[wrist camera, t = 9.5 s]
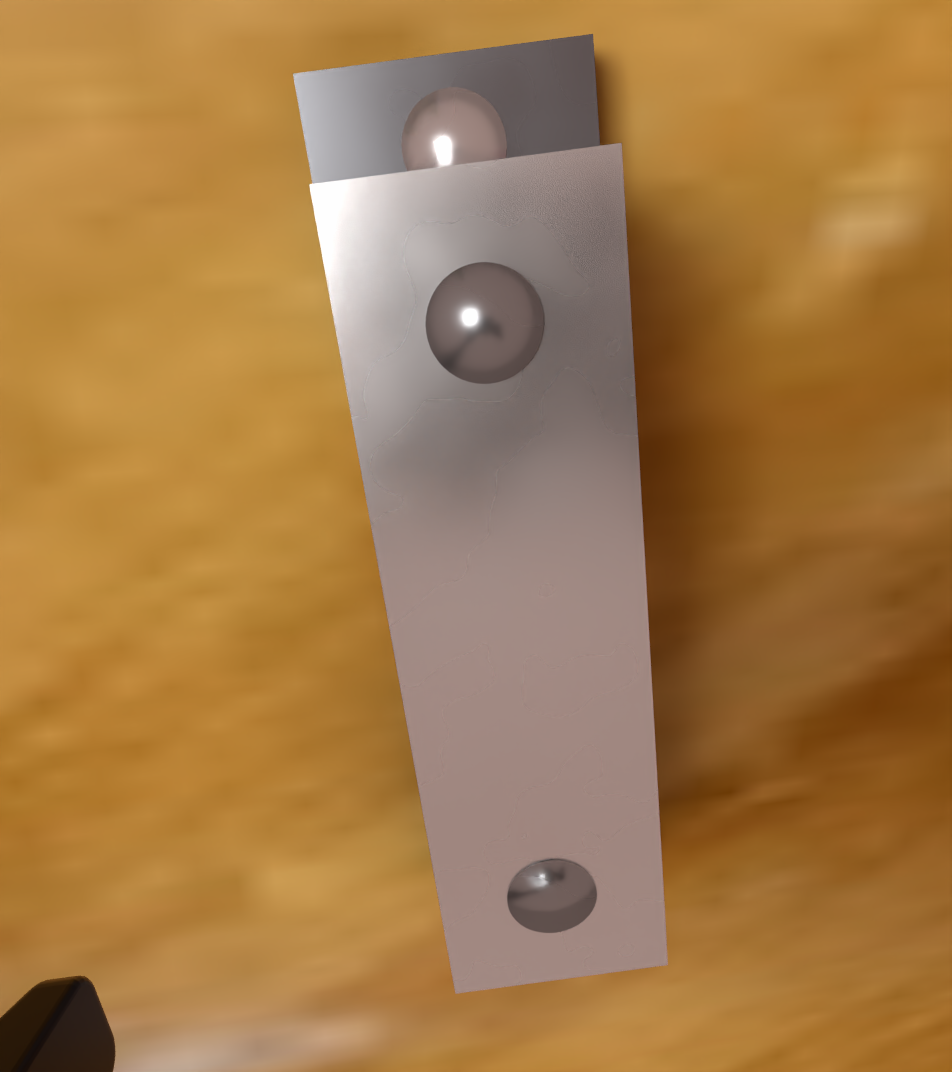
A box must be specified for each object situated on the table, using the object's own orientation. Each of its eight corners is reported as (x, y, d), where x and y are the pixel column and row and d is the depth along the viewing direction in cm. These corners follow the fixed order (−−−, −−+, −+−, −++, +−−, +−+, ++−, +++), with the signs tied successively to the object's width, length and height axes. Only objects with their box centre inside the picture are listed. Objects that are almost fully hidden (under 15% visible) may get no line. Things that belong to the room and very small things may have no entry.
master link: (621, 819, 19) (668, 967, 15) (451, 842, 19) (455, 996, 15) (571, 167, 14) (622, 142, 10) (342, 198, 14) (309, 184, 10)
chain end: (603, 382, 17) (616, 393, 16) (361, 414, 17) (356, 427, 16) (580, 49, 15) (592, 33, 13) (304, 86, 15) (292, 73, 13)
